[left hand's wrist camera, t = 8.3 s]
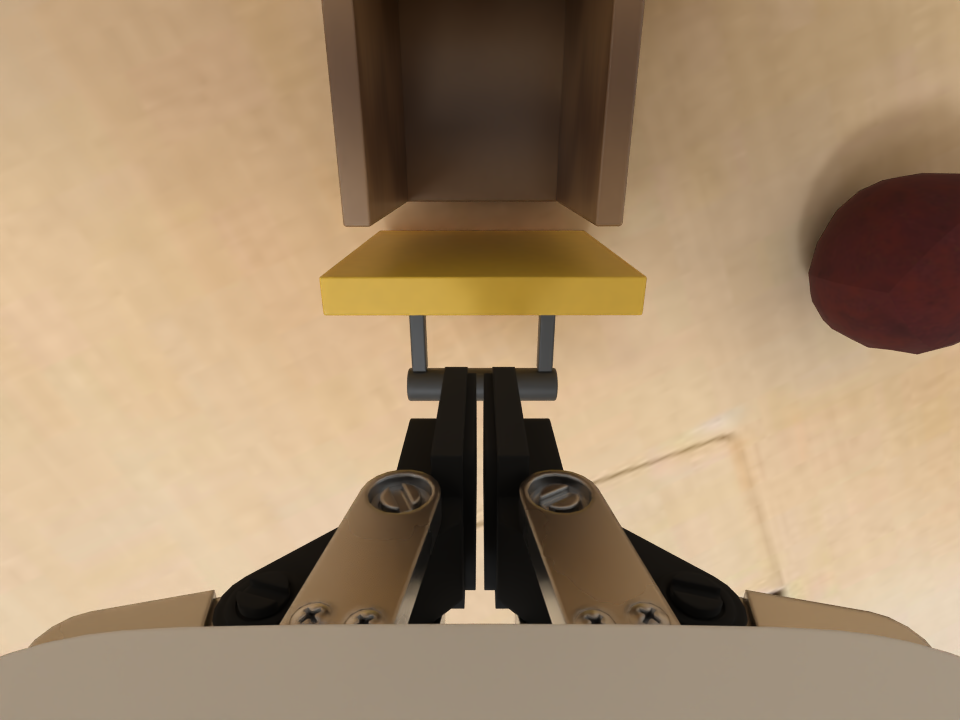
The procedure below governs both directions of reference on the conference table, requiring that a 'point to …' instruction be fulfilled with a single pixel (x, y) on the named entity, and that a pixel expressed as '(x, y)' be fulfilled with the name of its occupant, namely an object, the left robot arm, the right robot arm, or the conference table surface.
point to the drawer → (482, 161)
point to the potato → (893, 265)
